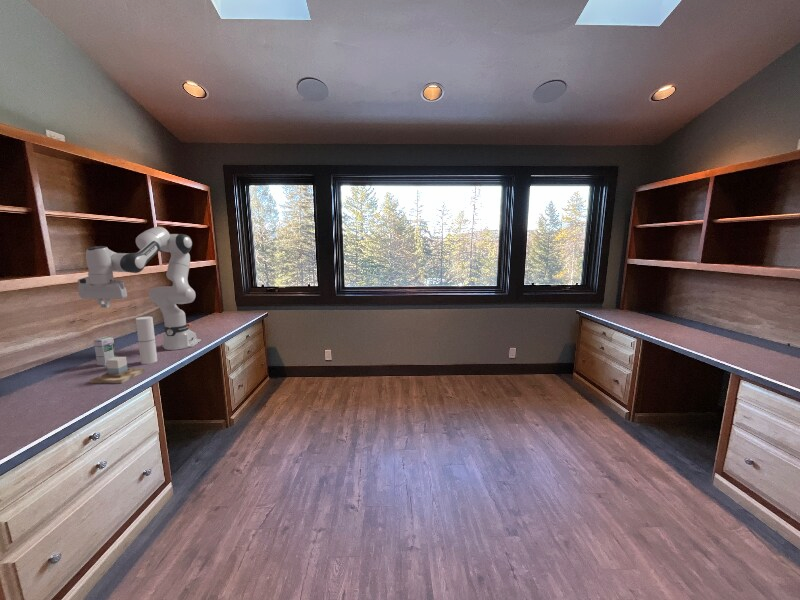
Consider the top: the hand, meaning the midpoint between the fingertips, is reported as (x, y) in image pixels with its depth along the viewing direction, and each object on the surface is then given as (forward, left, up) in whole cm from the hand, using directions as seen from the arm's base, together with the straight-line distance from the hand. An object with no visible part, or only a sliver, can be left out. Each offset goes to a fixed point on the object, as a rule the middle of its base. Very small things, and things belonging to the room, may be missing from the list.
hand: (105, 307), depth 154 cm
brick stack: (+8, +9, -32) cm, 34 cm away
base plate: (+8, +9, -33) cm, 35 cm away
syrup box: (-10, -12, -33) cm, 37 cm away
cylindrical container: (-13, +8, -33) cm, 37 cm away
